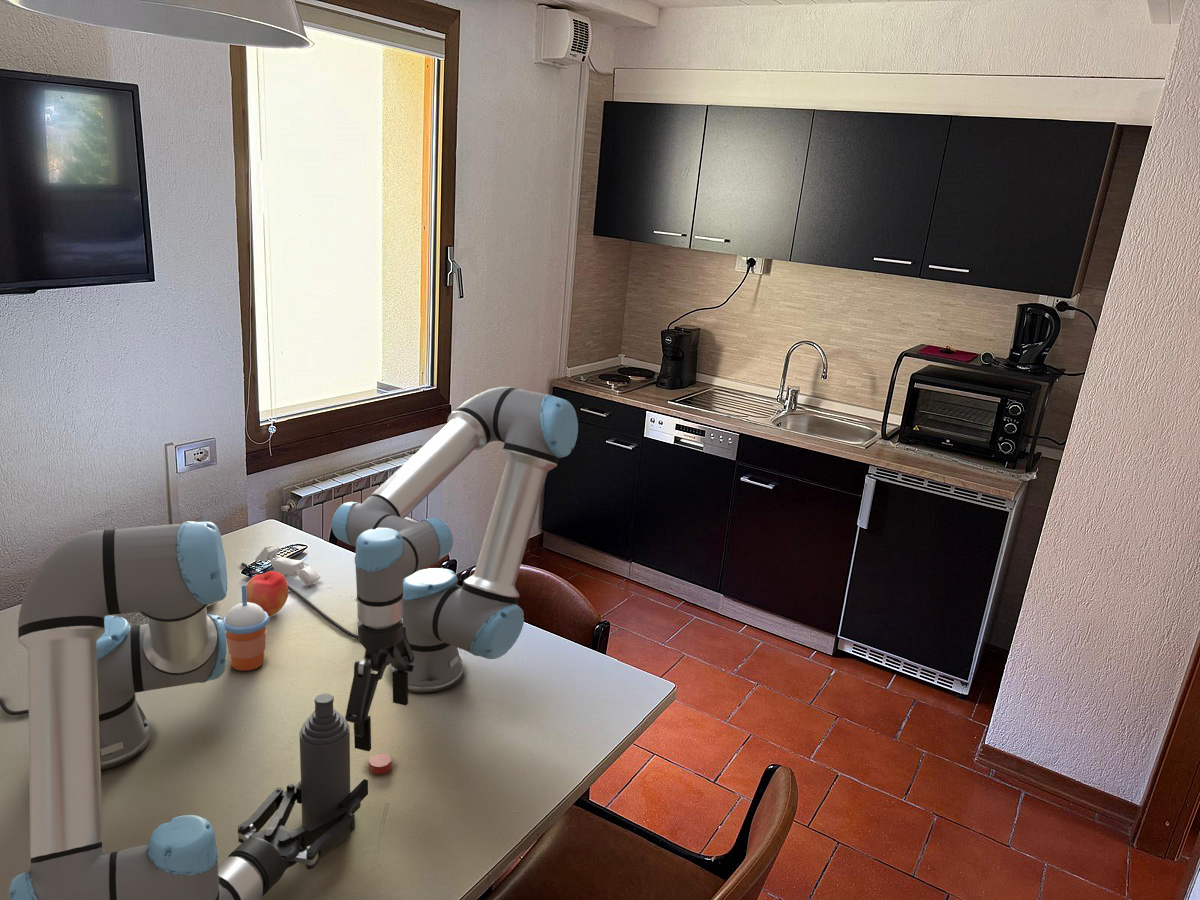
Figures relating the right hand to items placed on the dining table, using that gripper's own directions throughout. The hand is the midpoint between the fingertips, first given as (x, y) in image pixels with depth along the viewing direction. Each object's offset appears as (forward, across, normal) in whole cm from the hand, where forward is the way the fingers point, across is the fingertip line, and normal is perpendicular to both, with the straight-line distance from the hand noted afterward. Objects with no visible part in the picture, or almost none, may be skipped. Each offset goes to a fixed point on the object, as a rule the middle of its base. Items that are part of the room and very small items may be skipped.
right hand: (382, 725), depth 151 cm
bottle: (+8, +17, -1) cm, 19 cm away
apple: (+9, -39, -51) cm, 65 cm away
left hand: (+2, +12, 0) cm, 12 cm away
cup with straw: (+9, -20, -42) cm, 47 cm away
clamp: (+10, -58, -58) cm, 83 cm away
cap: (+7, +1, 0) cm, 7 cm away
